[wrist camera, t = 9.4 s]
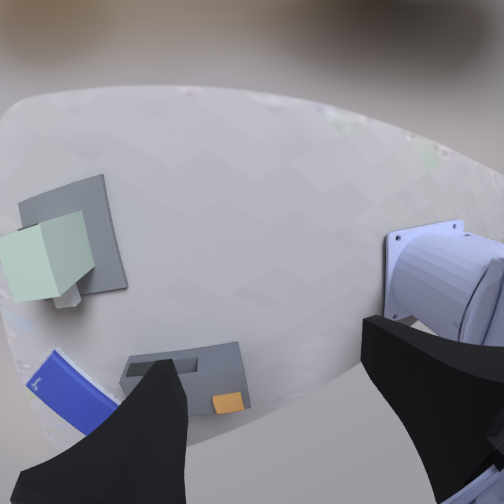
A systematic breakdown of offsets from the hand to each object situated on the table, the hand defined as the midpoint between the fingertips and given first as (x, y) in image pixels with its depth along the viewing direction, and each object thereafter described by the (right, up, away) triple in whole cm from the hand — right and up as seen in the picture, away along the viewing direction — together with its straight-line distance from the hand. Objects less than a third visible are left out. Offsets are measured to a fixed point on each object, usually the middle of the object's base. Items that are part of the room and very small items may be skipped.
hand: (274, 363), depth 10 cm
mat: (-14, +5, +8) cm, 17 cm away
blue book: (-17, -11, +12) cm, 24 cm away
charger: (-14, +5, +7) cm, 17 cm away
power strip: (-6, -6, +12) cm, 14 cm away
